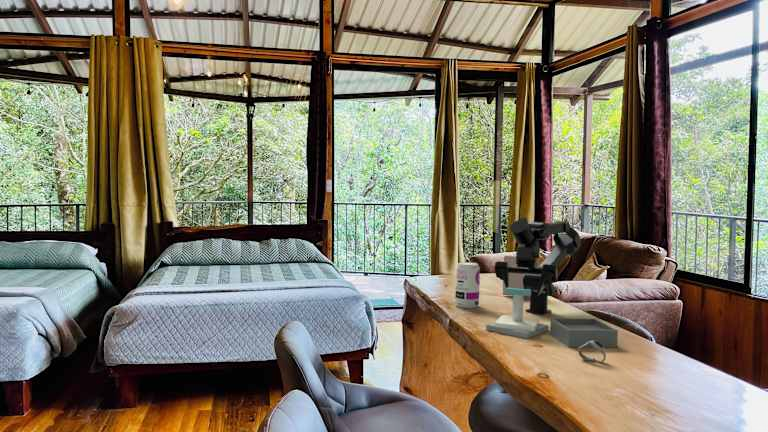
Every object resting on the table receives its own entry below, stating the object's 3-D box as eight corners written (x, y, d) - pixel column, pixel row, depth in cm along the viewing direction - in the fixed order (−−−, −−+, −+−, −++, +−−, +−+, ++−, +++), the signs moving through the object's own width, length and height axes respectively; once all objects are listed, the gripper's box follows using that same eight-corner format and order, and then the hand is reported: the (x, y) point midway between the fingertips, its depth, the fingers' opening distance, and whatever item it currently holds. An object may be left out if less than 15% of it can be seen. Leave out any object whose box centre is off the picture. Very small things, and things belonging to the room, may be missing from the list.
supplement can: (480, 304, 190) (481, 262, 190) (476, 309, 182) (477, 265, 182) (457, 302, 193) (458, 261, 192) (453, 307, 185) (454, 264, 184)
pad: (508, 322, 165) (508, 317, 165) (548, 330, 156) (548, 325, 156) (485, 329, 155) (486, 324, 155) (526, 338, 146) (526, 333, 146)
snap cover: (501, 318, 163) (502, 284, 162) (539, 322, 158) (540, 287, 158) (494, 326, 153) (495, 290, 152) (534, 331, 148) (535, 293, 148)
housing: (550, 334, 152) (550, 318, 151) (594, 334, 152) (595, 318, 152) (568, 347, 139) (568, 330, 138) (617, 347, 139) (617, 330, 139)
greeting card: (532, 295, 208) (533, 257, 208) (526, 298, 202) (527, 259, 201) (504, 292, 214) (505, 255, 214) (497, 295, 208) (498, 257, 208)
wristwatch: (604, 365, 125) (605, 344, 124) (576, 360, 128) (577, 340, 128) (606, 361, 128) (607, 340, 127) (579, 357, 131) (580, 336, 131)
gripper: (496, 235, 170) (488, 275, 160) (557, 238, 163) (553, 280, 153) (500, 257, 177) (492, 296, 168) (559, 261, 170) (554, 302, 161)
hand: (522, 293), depth 162 cm, fingers open, 9 cm apart
